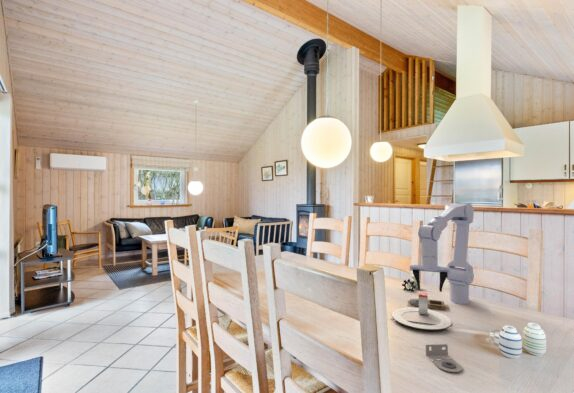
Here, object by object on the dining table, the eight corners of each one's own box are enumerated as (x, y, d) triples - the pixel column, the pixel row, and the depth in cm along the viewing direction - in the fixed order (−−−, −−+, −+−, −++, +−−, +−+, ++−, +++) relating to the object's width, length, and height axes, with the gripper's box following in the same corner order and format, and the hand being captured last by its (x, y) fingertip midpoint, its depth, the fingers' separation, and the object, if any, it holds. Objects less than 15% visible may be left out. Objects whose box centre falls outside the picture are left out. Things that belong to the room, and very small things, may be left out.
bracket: (443, 375, 83) (443, 362, 83) (425, 356, 93) (425, 344, 93) (467, 374, 83) (467, 361, 83) (447, 355, 93) (447, 344, 93)
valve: (410, 286, 163) (401, 291, 154) (410, 273, 163) (401, 278, 154) (423, 288, 159) (415, 294, 150) (423, 275, 159) (415, 280, 150)
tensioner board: (407, 302, 138) (407, 295, 138) (448, 307, 132) (448, 300, 132) (407, 308, 131) (407, 301, 131) (450, 313, 125) (450, 306, 125)
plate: (456, 338, 104) (456, 332, 104) (391, 329, 112) (390, 324, 112) (447, 315, 124) (447, 310, 124) (392, 309, 131) (392, 304, 131)
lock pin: (418, 310, 124) (418, 292, 124) (427, 311, 123) (427, 293, 123) (418, 313, 121) (418, 294, 121) (427, 314, 120) (427, 295, 120)
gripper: (409, 256, 122) (409, 290, 122) (451, 258, 116) (451, 295, 116) (409, 253, 128) (410, 285, 128) (449, 255, 123) (449, 289, 123)
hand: (429, 289), depth 123 cm, fingers open, 7 cm apart
